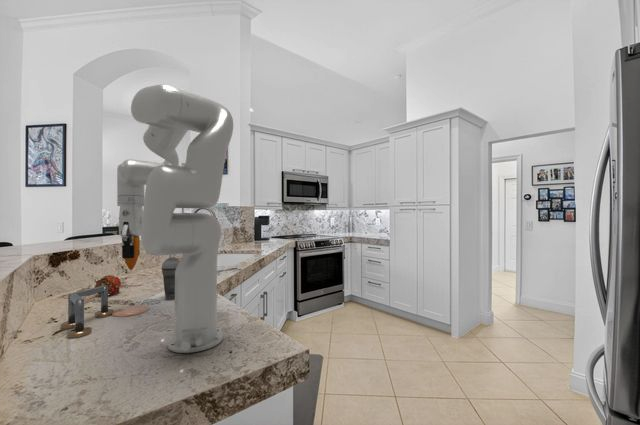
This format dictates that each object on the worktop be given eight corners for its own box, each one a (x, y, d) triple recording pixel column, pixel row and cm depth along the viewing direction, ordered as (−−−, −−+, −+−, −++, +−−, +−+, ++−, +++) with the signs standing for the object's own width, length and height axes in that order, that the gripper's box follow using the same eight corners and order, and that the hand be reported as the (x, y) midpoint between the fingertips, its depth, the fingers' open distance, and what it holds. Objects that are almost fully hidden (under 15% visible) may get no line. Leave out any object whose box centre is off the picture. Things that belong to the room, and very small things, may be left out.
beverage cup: (173, 301, 105) (173, 246, 106) (156, 300, 107) (156, 246, 107) (186, 296, 113) (186, 244, 113) (170, 295, 114) (170, 244, 114)
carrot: (138, 270, 93) (138, 224, 93) (119, 271, 91) (119, 224, 92) (141, 268, 98) (141, 223, 98) (124, 269, 96) (124, 224, 96)
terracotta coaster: (144, 314, 91) (144, 312, 91) (106, 318, 88) (106, 316, 88) (152, 305, 101) (152, 304, 101) (118, 308, 98) (118, 306, 98)
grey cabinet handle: (86, 336, 74) (86, 301, 75) (38, 342, 71) (38, 305, 72) (116, 311, 94) (116, 283, 95) (79, 315, 91) (80, 286, 92)
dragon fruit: (105, 302, 110) (105, 300, 120) (127, 286, 115) (125, 285, 125) (89, 286, 108) (90, 285, 118) (111, 270, 113) (111, 270, 122)
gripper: (136, 200, 88) (136, 259, 88) (150, 203, 104) (150, 253, 104) (107, 199, 86) (107, 261, 85) (126, 203, 102) (126, 254, 102)
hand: (131, 256), depth 95 cm, fingers closed on carrot, 4 cm apart
